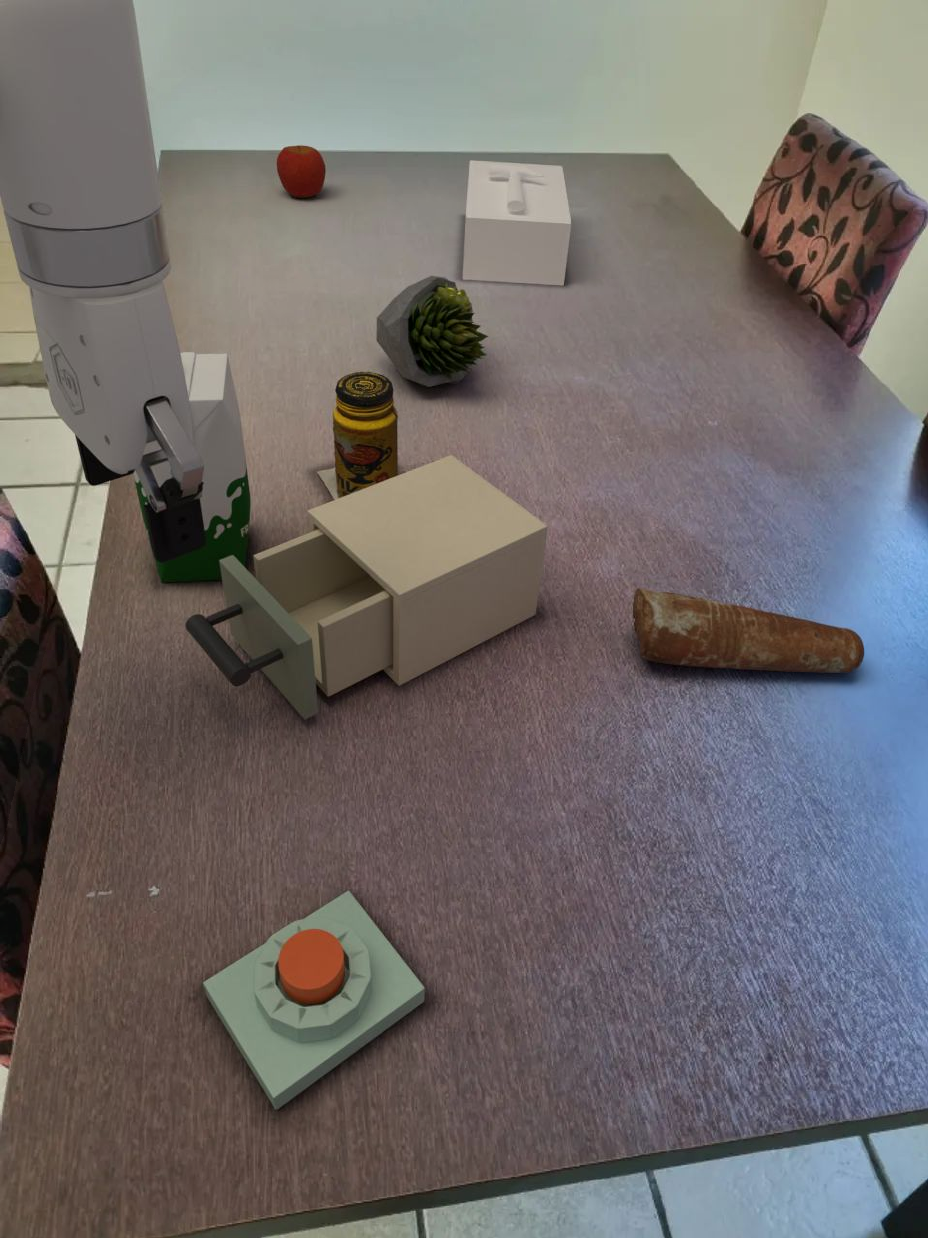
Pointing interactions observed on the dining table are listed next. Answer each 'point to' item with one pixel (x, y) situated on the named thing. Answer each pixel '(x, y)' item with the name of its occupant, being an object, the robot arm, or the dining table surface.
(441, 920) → the dining table surface
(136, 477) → the milk carton
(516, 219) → the white embossed block
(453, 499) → the cabinet
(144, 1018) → the dining table surface
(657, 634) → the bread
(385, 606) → the drawer
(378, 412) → the condiment
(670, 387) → the dining table surface
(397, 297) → the potted plant
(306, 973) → the button
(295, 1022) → the block
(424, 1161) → the dining table surface
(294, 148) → the apple
